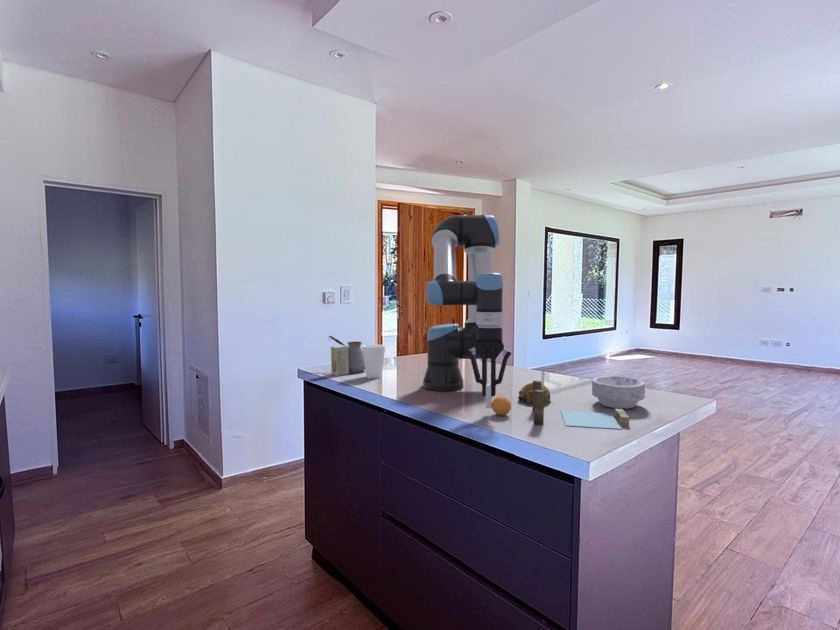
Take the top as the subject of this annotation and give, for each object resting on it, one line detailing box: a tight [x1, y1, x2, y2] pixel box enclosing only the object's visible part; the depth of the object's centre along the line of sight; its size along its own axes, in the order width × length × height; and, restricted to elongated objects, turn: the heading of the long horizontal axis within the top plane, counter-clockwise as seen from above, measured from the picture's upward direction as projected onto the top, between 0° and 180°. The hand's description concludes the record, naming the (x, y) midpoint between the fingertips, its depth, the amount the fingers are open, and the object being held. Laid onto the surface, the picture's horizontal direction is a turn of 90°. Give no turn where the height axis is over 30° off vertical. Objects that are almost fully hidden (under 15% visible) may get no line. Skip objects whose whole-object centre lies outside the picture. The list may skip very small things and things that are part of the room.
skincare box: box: [330, 344, 350, 377], centre depth 190 cm, size 6×4×12 cm
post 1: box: [532, 379, 543, 412], centre depth 134 cm, size 3×3×9 cm
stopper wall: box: [614, 408, 630, 427], centre depth 123 cm, size 8×2×2 cm, turn 167°
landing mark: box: [560, 410, 622, 430], centre depth 125 cm, size 14×14×1 cm
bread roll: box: [517, 382, 552, 405], centre depth 145 cm, size 10×10×8 cm
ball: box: [491, 395, 512, 416], centre depth 130 cm, size 6×6×6 cm
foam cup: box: [361, 343, 386, 379], centre depth 184 cm, size 10×9×13 cm
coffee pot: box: [327, 335, 366, 374], centre depth 200 cm, size 21×12×15 cm, turn 57°
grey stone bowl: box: [591, 375, 646, 410], centre depth 140 cm, size 15×15×8 cm
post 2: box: [533, 390, 545, 426], centre depth 122 cm, size 3×3×9 cm
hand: (488, 406), depth 130 cm, fingers closed
